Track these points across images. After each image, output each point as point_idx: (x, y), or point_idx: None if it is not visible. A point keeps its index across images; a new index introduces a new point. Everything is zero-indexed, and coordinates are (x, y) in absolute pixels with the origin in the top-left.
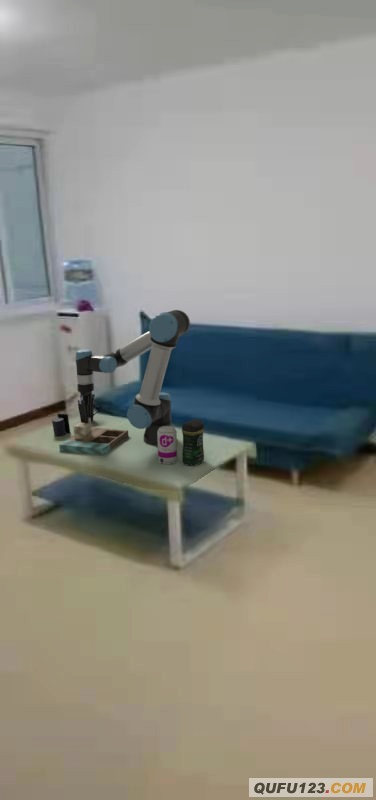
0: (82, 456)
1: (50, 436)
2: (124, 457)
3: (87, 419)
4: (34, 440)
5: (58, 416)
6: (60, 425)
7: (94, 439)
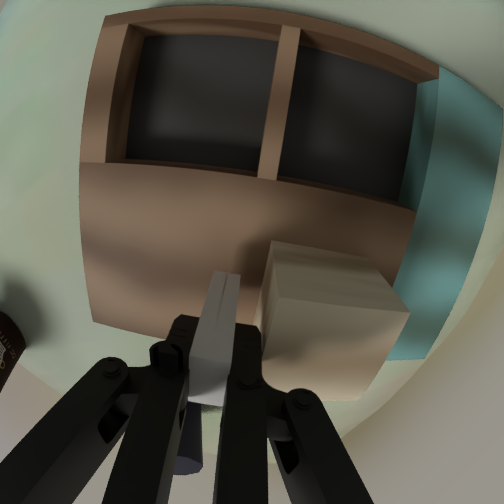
0: (489, 212)
1: (211, 420)
2: (476, 19)
3: (248, 369)
4: (268, 441)
5: None
6: (190, 437)
7: (351, 194)
